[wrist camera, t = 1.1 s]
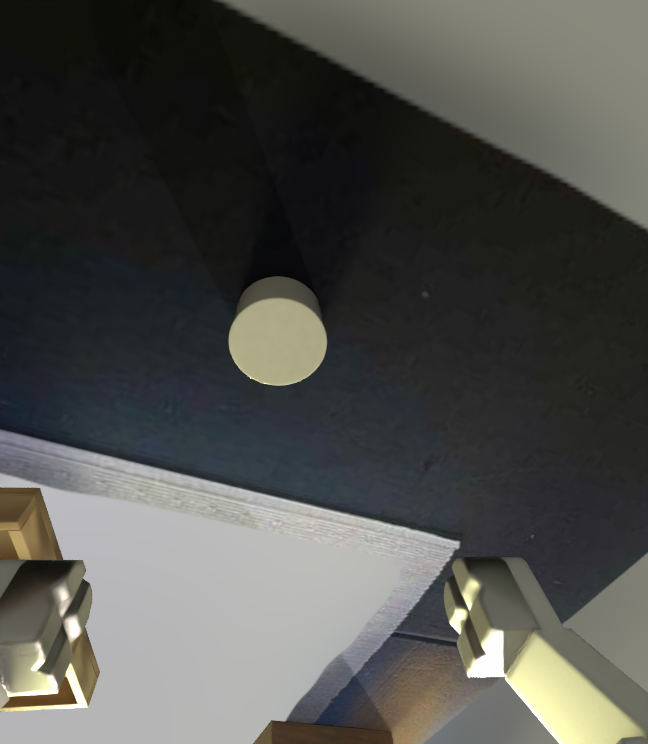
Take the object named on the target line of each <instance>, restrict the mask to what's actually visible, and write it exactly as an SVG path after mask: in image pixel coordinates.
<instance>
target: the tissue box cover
mask: <svg viewBox="0 0 648 744" xmlns="http://www.w3.org/2000/svg"><path fill="white" fill-rule="evenodd" d="M253 744H393V739H392V734H391V732H388V731H377V730H367V729H356V728H346V727H335V726H325V725H314V724H304V723H293V722H283V721H271V722H270V723H269V724H268V726H267V727H266V728H265V729H264V731H263V732H262V733H261V734H260V736H259V737H258V738H257V740H256V741H255V742H254V743H253Z"/></svg>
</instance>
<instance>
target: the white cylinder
mask: <svg viewBox="0 0 648 744" xmlns="http://www.w3.org/2000/svg"><path fill="white" fill-rule="evenodd" d="M326 348H327V335H326V330H325V326H324V321H323V316H322V311H321V307H320V304H319V302H318V300H317V298H316V296H315V295H314V294H313V292H312V291H311V290H310V289H309V288H308V287H307V286H305V285H304V284H302V283H301V282H299V281H297V280H294V279H291V278H288V277H281V276H275V277H268V278H264V279H261V280H259V281H257V282H255V283H253V284H252V285H250V286H249V287H248V288H247V289H246V290H245V291H244V292H243V294H242V295H241V296H240V298H239V300H238V303H237V305H236V309H235V313H234V317H233V320H232V324H231V328H230V332H229V349H230V353H231V355H232V358H233V360H234V361H235V363H236V364H237V366H238V367H239V368H240V369H241V370H242V371H243V372H244V373H245V374H246V375H248V376H249V377H251V378H252V379H254V380H256V381H258V382H261V383H264V384H269V385H288V384H292V383H296V382H298V381H301V380H303V379H305V378H306V377H308V376H309V375H310V374H312V373H313V372H314V371H315V370H316V369H317V368H318V366H319V365H320V363H321V362H322V360H323V358H324V355H325V352H326Z"/></svg>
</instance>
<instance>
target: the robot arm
mask: <svg viewBox="0 0 648 744" xmlns="http://www.w3.org/2000/svg"><path fill="white" fill-rule="evenodd" d="M452 569H453V572H454V575H453V576H451V577H450V578H449V579H447V581H446V585H445V588H444V604H445V609H446V613H447V617H448V620H449V623H450V624H451V625H452V626H453V627H454V628H455V629H456V630H457V631H458V632H459V633H460V634H459V637H458V641H457V647H458V650H459V653H460V656H461V659H462V662H463V664H464V667H465V670H466V673H467V676H468V677H506V678H505V680H506V681H507V682H508V683H509V684H510V686H511V687H512V688H513V689H514V690H515V692H516V693H517V694H518V695H519V696H520V697H521V699H522V700H523V701H524V702H525V703H526V705H527V706H528V707H529V708H530V709H531V710H532V712H533V713H534V714H535V715H536V716H537V717H538V719H539V720H540V721H541V722H542V724H543V725H544V726H545V727H546V728H547V729H548V731H549V732H550V733H551V734H552V735H553V737H554V738H555V739H556V740H557V741H558V743H559V744H648V693H647V692H646V691H645V690H643V689H642V688H641V687H640V686H639V685H638V684H636V683H635V682H634V681H633V680H632V679H630V678H629V677H628V676H627V675H626V674H624V673H623V672H622V671H621V670H620V669H618V668H617V667H616V666H615V665H614V664H612V663H611V662H610V661H609V660H608V659H606V658H605V657H604V656H603V655H602V654H600V653H599V652H598V651H596V649H594V648H593V647H592V646H591V645H590V644H588V643H587V642H586V641H585V640H584V639H582V638H581V637H580V636H579V635H578V634H576V633H575V632H574V631H573V630H572V629H564V627H563V626H562V624H561V622H560V620H559V619H558V617H557V615H556V613H555V612H554V610H553V608H552V606H551V604H550V603H549V601H548V599H547V597H546V596H545V594H544V592H543V590H542V589H541V587H540V585H539V583H538V582H537V580H536V578H535V576H534V575H533V573H532V571H531V569H530V568H529V566H528V564H527V562H526V561H525V560H524V559H522V558H521V557H462V558H457V559H456V560H455V561H454V563H453V566H452ZM85 572H86V568H85V565H84V563H83V560H29V559H28V560H0V709H1V708H2V707H3V706H4V705H5V704H6V703H7V702H8V701H9V699H10V698H9V696H23V695H37V694H52V693H58V691H59V689H60V686H61V684H62V682H63V679H64V677H65V674H66V672H67V669H68V667H69V665H70V662H71V660H72V657H73V653H72V649H71V646H70V643H71V642H73V641H74V640H75V639H76V638H77V637H78V636H79V635H80V634H81V633H82V632H83V630H84V628H85V625H86V623H87V620H88V617H89V613H90V608H91V604H92V589H91V586H90V583H88V582H87V581H85V580H84V579H83V576H84V574H85Z"/></svg>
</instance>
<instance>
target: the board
mask: <svg viewBox="0 0 648 744" xmlns="http://www.w3.org/2000/svg"><path fill="white" fill-rule="evenodd" d="M28 559H29V560H63V558H62V555H61V551H60V549H59V545H58V542H57V539H56V536H55V533H54V530H53V527H52V524H51V521H50V518H49V515H48V511H47V508H46V505H45V502H44V500H43V496H42V493H41V490H40V488H0V560H28ZM70 646H71V649H72V653H73V657H72V660H71V662H70V665H69V667H68V669H67V672H66V674H65V677H64V679H63V682H62V684H61V686H60V689H59V691H58V693H52V694H37V695H23V696H9V698H10V699H9V701H8V702H7V703H6V704H5V705H4V706H3V707H2V708H1V709H0V712H5V711H24V710H43V709H62V708H81V707H88V706H89V703H90V700H91V697H92V694H93V691H94V688H95V685H96V682H97V679H98V676H99V673H100V671H99V668H98V665H97V662H96V659H95V656H94V653H93V650H92V646H91V643H90V640H89V637H88V634H87V631H86V628H84V630H83V632H82V633H81V634H80V635H79V636H78V637H77V638H76V639H75V640H74V641H73V642H71V643H70Z"/></svg>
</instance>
